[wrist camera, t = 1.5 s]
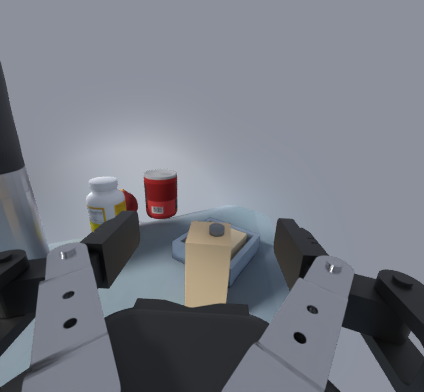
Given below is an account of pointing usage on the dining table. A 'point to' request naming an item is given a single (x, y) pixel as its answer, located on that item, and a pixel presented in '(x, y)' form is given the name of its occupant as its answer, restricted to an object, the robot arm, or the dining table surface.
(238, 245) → the beige slab
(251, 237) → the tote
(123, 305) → the dining table surface
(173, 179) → the canned food
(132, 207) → the onion
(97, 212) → the supplement bottle
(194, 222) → the carton
